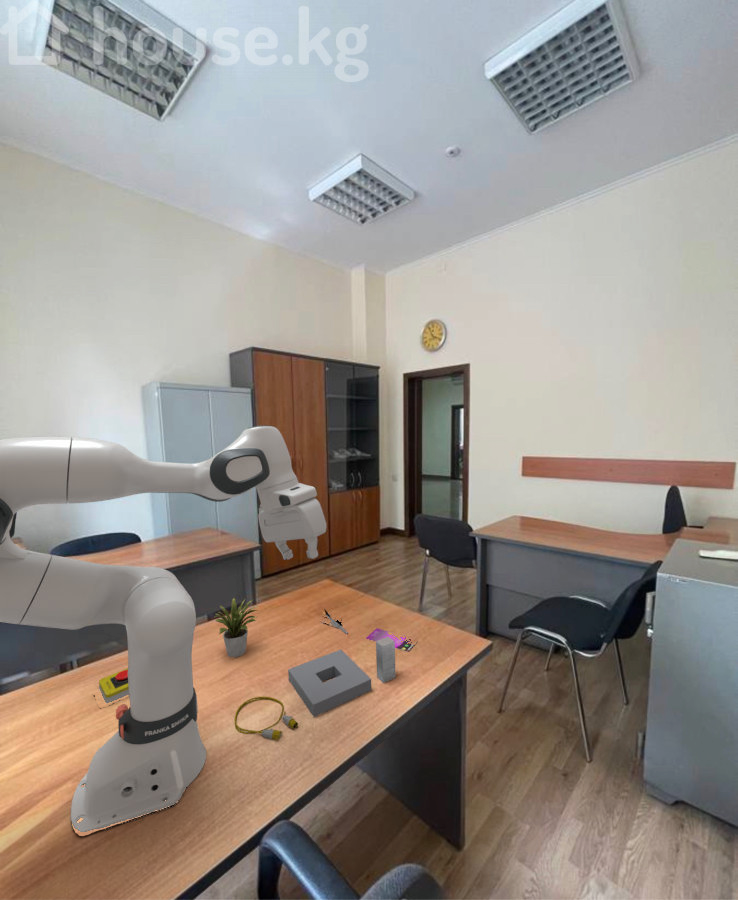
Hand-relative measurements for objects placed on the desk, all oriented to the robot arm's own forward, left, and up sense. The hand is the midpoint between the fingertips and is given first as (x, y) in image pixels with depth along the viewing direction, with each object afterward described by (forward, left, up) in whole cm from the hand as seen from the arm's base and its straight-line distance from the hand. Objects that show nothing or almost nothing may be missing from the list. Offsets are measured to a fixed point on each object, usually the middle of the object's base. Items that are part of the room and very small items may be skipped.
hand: (300, 558), depth 85 cm
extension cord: (-7, +8, -40) cm, 41 cm away
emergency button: (-33, +40, -40) cm, 66 cm away
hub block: (+11, +10, -39) cm, 42 cm away
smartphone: (+36, +18, -40) cm, 57 cm away
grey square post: (+25, +4, -39) cm, 46 cm away
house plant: (-6, +38, -39) cm, 55 cm away
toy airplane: (+27, +39, -40) cm, 62 cm away
